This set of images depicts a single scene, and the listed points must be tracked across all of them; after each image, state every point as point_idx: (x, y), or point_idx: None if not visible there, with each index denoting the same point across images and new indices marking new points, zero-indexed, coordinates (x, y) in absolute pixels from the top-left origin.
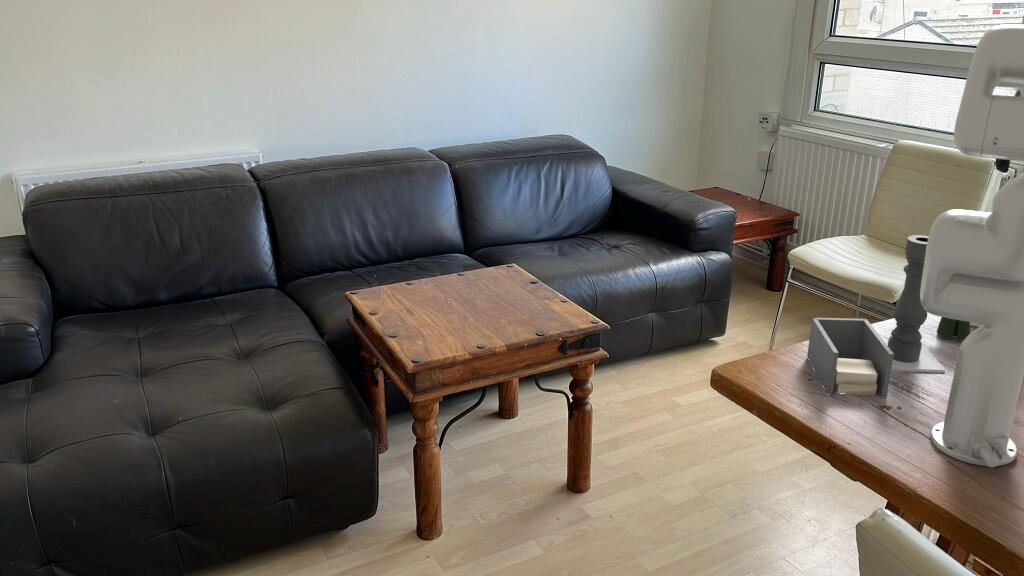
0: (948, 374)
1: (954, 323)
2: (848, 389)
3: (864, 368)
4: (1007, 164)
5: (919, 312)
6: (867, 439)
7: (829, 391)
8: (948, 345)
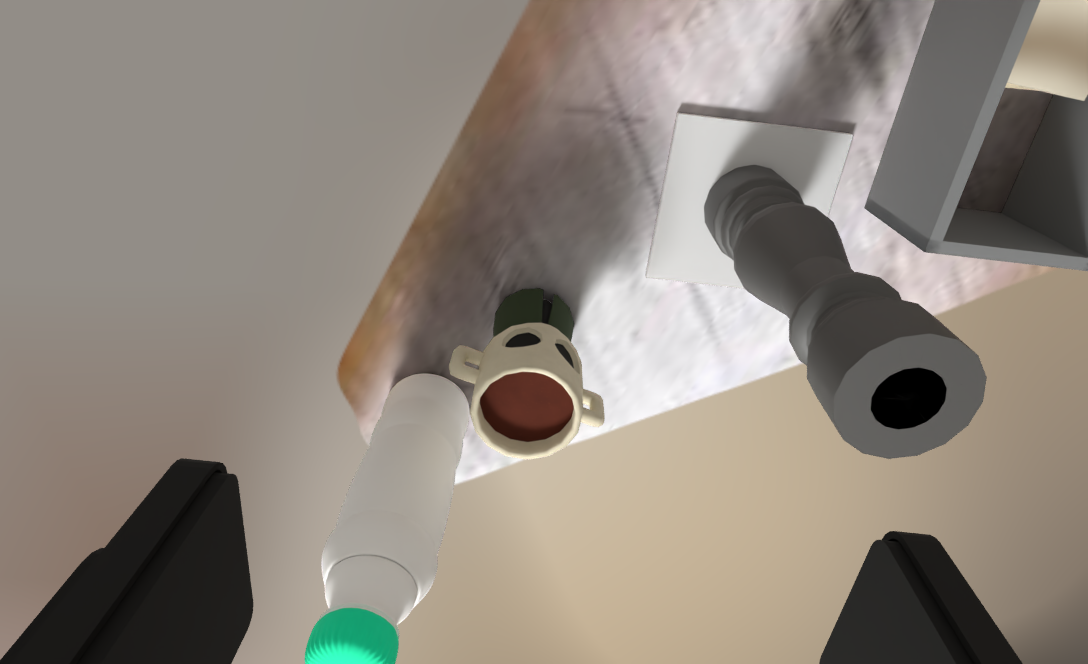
0: (672, 101)
1: (552, 320)
2: None
3: (1040, 11)
4: (967, 613)
5: (797, 217)
6: None
7: None
8: (569, 277)
